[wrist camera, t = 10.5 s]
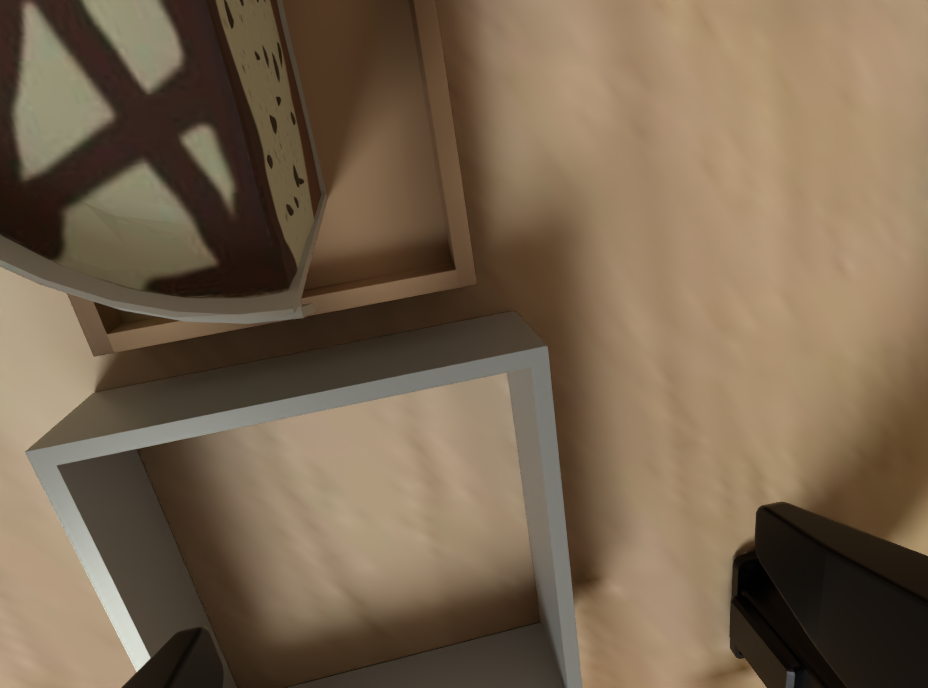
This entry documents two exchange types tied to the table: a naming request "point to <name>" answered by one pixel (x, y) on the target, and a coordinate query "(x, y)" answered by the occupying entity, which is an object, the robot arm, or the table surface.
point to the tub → (287, 395)
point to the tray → (357, 169)
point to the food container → (158, 156)
